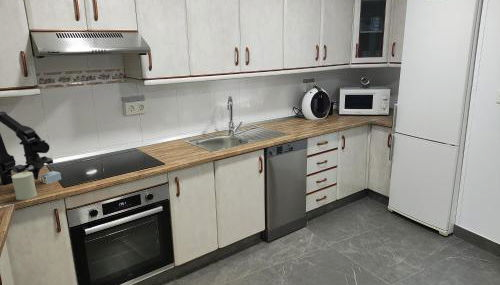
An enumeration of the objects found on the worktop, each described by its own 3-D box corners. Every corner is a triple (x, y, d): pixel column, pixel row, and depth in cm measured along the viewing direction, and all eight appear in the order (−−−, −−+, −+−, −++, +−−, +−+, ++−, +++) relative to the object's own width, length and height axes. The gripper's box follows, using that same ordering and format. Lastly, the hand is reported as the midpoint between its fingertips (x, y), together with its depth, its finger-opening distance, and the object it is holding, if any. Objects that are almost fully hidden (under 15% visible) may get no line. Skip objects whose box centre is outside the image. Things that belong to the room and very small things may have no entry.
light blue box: (39, 175, 201) (53, 171, 208) (40, 182, 202) (54, 177, 209) (46, 177, 198) (60, 172, 204) (47, 184, 199) (61, 179, 205)
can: (40, 192, 187) (35, 170, 184) (32, 199, 178) (27, 176, 175) (21, 193, 186) (16, 171, 183) (12, 201, 177) (7, 177, 174)
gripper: (19, 159, 181) (25, 188, 185) (56, 149, 196) (61, 176, 200) (9, 156, 187) (15, 184, 191) (45, 147, 202) (50, 173, 206)
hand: (36, 179), depth 197 cm, fingers closed
